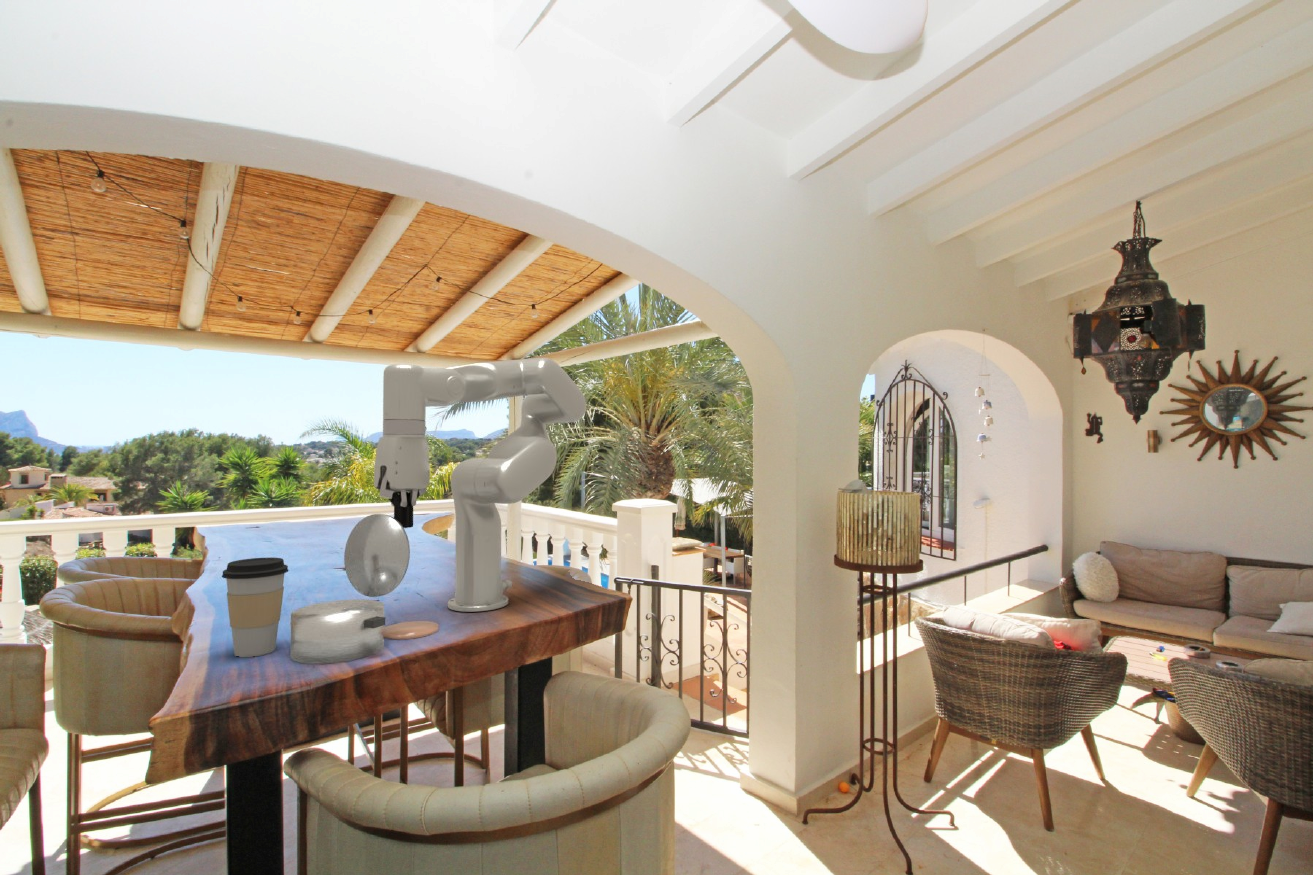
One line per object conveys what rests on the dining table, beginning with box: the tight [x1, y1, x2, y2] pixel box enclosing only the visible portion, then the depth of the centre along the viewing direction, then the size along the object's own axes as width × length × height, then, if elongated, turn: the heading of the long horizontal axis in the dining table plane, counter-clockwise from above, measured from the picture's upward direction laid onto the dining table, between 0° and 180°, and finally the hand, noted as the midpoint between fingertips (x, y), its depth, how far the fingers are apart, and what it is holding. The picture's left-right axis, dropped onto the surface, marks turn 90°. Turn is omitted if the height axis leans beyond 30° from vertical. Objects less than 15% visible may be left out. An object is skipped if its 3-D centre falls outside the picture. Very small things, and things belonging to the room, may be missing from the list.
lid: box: [343, 513, 411, 598], centre depth 115 cm, size 15×15×2 cm
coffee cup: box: [221, 557, 290, 658], centre depth 106 cm, size 9×9×15 cm
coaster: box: [384, 620, 440, 640], centre depth 118 cm, size 10×10×1 cm
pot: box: [289, 598, 386, 665], centre depth 107 cm, size 14×18×7 cm
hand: (403, 527), depth 120 cm, fingers closed
